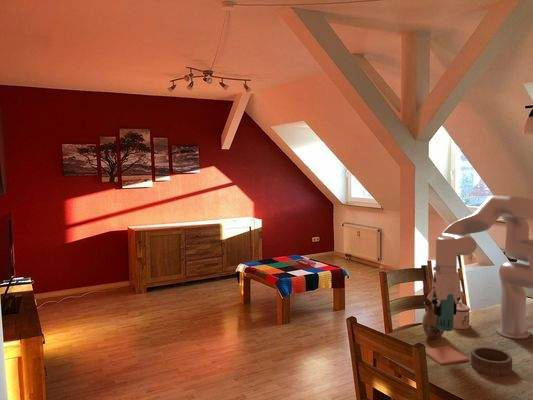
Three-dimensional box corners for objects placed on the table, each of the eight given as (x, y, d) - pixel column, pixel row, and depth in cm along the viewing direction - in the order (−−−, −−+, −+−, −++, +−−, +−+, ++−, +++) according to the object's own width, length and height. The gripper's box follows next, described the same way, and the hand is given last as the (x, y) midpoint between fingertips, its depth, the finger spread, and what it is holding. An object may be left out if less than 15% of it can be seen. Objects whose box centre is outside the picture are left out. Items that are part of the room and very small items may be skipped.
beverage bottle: (448, 328, 171) (449, 279, 170) (457, 335, 165) (458, 283, 163) (432, 329, 171) (433, 279, 169) (440, 335, 164) (442, 284, 163)
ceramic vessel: (437, 346, 178) (437, 286, 176) (415, 340, 184) (416, 283, 182) (451, 334, 190) (452, 278, 188) (430, 329, 196) (431, 275, 194)
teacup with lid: (465, 331, 193) (466, 305, 192) (445, 326, 199) (445, 301, 198) (474, 323, 201) (475, 299, 200) (454, 319, 208) (455, 295, 207)
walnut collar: (492, 357, 166) (493, 345, 166) (519, 373, 154) (520, 360, 153) (463, 362, 163) (463, 349, 163) (488, 378, 151) (489, 364, 150)
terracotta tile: (448, 347, 176) (448, 346, 176) (468, 360, 164) (468, 358, 164) (422, 351, 173) (422, 349, 173) (440, 364, 162) (440, 362, 161)
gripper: (432, 273, 160) (431, 320, 162) (472, 269, 164) (471, 315, 166) (420, 268, 168) (419, 313, 169) (458, 265, 172) (458, 309, 173)
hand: (445, 314), depth 167 cm, fingers closed on beverage bottle, 6 cm apart
